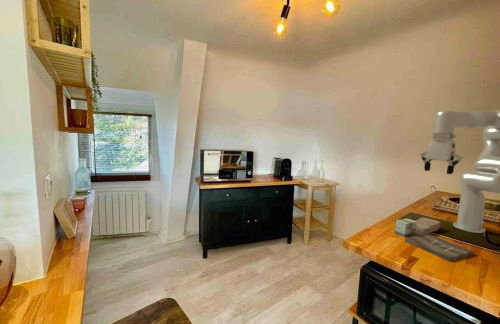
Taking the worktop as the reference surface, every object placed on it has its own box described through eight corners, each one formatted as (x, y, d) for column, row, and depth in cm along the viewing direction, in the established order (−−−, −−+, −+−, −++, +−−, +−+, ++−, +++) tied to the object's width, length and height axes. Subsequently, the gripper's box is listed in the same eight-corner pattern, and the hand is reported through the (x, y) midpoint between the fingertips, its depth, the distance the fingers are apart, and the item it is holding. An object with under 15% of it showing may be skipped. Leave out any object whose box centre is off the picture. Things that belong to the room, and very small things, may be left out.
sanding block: (405, 231, 118) (407, 218, 117) (415, 235, 113) (416, 221, 112) (394, 233, 115) (396, 220, 114) (404, 237, 110) (405, 223, 109)
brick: (425, 236, 112) (426, 227, 111) (406, 230, 119) (407, 221, 119) (440, 230, 120) (441, 221, 120) (422, 224, 127) (423, 216, 127)
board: (427, 236, 112) (427, 233, 111) (473, 254, 95) (473, 251, 95) (404, 241, 106) (405, 238, 106) (449, 261, 89) (449, 257, 89)
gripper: (469, 137, 101) (464, 175, 103) (428, 137, 117) (423, 169, 119) (459, 137, 98) (454, 175, 100) (418, 136, 114) (414, 169, 116)
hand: (437, 172), depth 109 cm, fingers open, 9 cm apart
